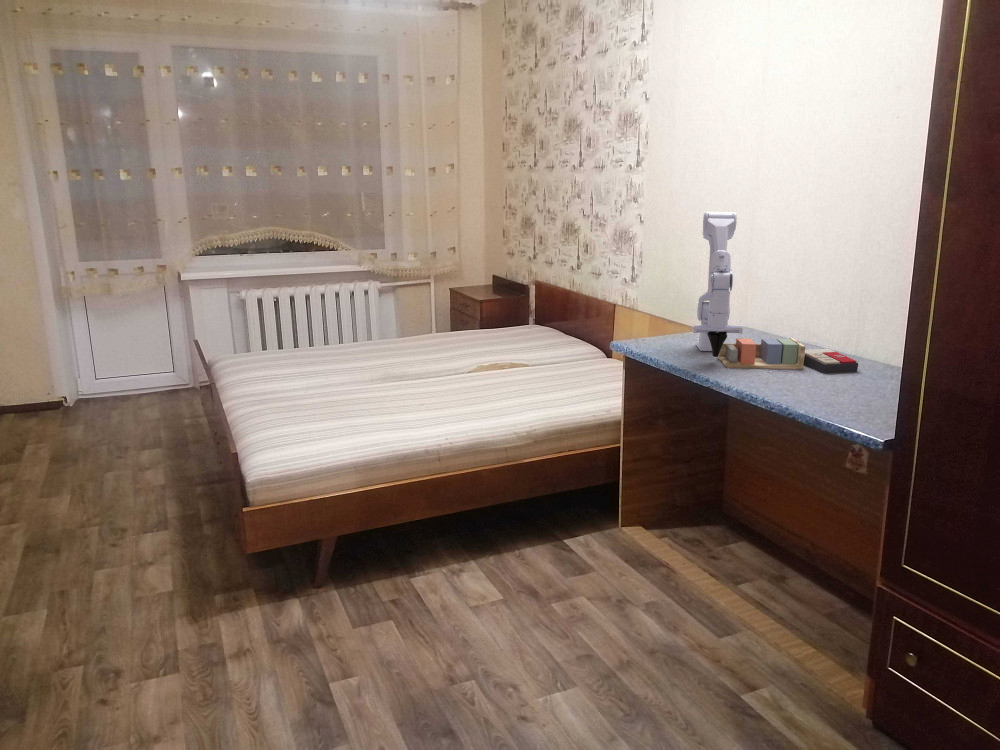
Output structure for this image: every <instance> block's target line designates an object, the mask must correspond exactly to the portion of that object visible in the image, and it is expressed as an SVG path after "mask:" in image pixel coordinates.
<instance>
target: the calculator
mask: <svg viewBox="0 0 1000 750" xmlns="http://www.w3.org/2000/svg"><path fill="white" fill-rule="evenodd" d="M804 365H805V366H806V367H808V368H810V369H811V370H814V371H817V372H819V373H822V374H837V373H839V374H840V373H856V372H858V368H859V362H858V361H857V360H855V359H853V358H851V357H849V356H847V355H845V354H842V353H840V352H838V351H834V350H832V349H830V348H823V349H822V348H816V349H815V348H814V349H805V356H804Z"/></svg>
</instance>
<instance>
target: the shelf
mask: <svg viewBox="0 0 1000 750" xmlns="http://www.w3.org/2000/svg"><path fill="white" fill-rule="evenodd" d="M789 339H791V340H792V341H794V342H795V343H796V344H798V349H797V359H796V364H766V363H765V362H764V361H763V360H762V359H761V358H760V350H761V343H755V344H756V354H755V364H741V363H740V362H739V361H738V360H737V363H730V362H729V361H728V360H727V359H726V358H725V353H726V345H734V346H735V347H736V343H734V342H733V343H732V342H731V343H728V342H727V343H726V342H724V343H723V345H722V347H721V349H720V352H719V356H718V359H719V360H720V361H721V363H722V364H723V365H724V366H725V368H726V369H765V370H766V369H773V370H774V369H775V370H777V369H778V370H786V369H787V370H804V356H805V350H806V346H805V345H804V344H803V343H801V342H800V341H798V340H797V339H796V338H795V337H790V338H789Z"/></svg>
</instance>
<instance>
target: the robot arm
mask: <svg viewBox="0 0 1000 750" xmlns="http://www.w3.org/2000/svg"><path fill="white" fill-rule="evenodd" d="M737 221H738V220H737V212H735V211H732V212H731V211H728V212H727V211H705V212H704V214H703V220H702V236H703V239H705V240H707V241H708V245H709V257H708V259H709V260H708V262H709V263H708V277H707V279H708V280H707V281H708V282H707V291H706V292H704V293H703V294H701V295H700V296H699V298H698V303H697V311H696V312H697V313H696V314H697V317H696V318H697V320H698V322H699V321H700V325H692V333H693V334H697V333H698V335H699V336H698V337H699V338H698V342H697V343H695V346H696V347H697V349H698V350H699V351H701V352H711V353H712V356H713V357H714V358H719V352H720V349H721V347H722V345H723V343H725V341H726V340H727V338H728V334H738V335H739V334H741V335H742V334H743V331H744V327H743V326H742V325H728V324H729V319H730V312H731V307H730V298H731V292H732V289H733V286H734V275H733V270H732V269H731V268H732V267H731V266H732V265H731V263H732V262H731V254H730V253H729V252H728V251H727V248H728V241H729V240H731V239H733V237H734V234H735V231H736V228H737Z"/></svg>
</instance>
